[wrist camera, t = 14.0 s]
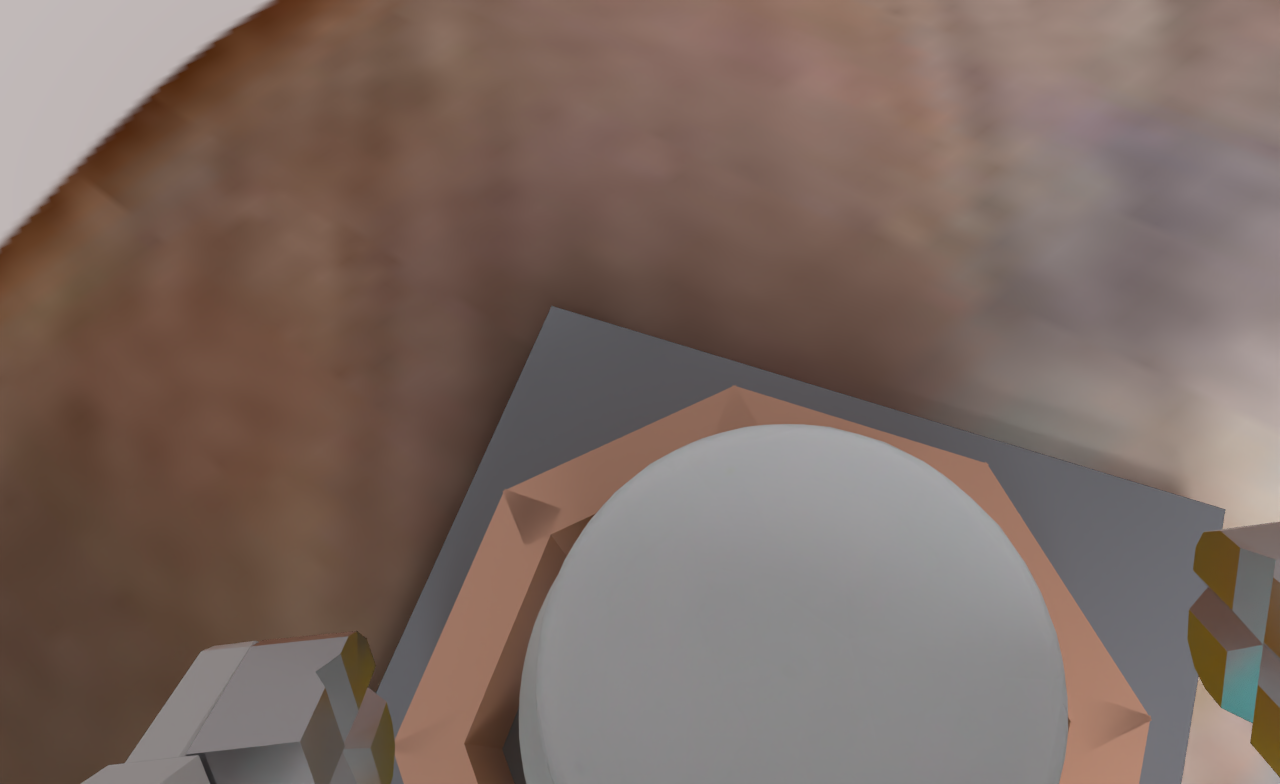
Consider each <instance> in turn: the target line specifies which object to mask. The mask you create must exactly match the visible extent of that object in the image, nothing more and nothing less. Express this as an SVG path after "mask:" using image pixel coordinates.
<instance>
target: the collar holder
mask: <svg viewBox="0 0 1280 784" xmlns="http://www.w3.org/2000/svg"><path fill="white" fill-rule="evenodd" d="M771 424H805V425H816V426H826V427H832V428H836V429H840V430H844V431H848V432H852V433H856V434H860V435H863V436H866V437H870V438H873V439H876V440H880V441H883V442H885V443H888V444H890V445H892V446H894V447H896V448H898V449H900V450H902V451H904V452H906V453H908V454H910V455H912V456H914V457H916V458H918V459H920V460H922V461H924V462H925V463H927V464H928V465H930V466H931V467H933V468H934V469H936V470H937V471H939V472H940V473H942V474H943V475H944V476H946V477H947V478H948V479H950V480H951V481H952V482H953V483H954V484H956V485H957V486H958V487H959V488H960V489H961V490H963V491H964V492H965V493H966V494H967V495H969V496H970V497H971V498H972V499H973V500H974V501H975V502H976V503H977V504H978V505H979V506H980V507H981V508H982V509H983V510H984V511H985V512H986V513H987V514H988V515H989V516H990V517H991V518H992V519H993V520H994V521H995V522H996V523H997V524H998V525H999V526H1000V527H1001V529H1002V530H1003V532H1004V533H1005V534H1006V536H1007V537H1008V539H1009V540H1010V542H1011V543H1012V545H1013V546H1014V547H1015V549H1016V550H1017V552H1018V553H1019V555H1020V556H1021V557H1022V559H1023V560H1024V562H1025V563H1026V565H1027V567H1028V569H1029V571H1030V572H1031V574H1032V576H1033V578H1034V580H1035V582H1036V584H1037V586H1038V587H1039V589H1040V591H1041V593H1042V596H1043V599H1044V601H1045V604H1046V607H1047V609H1048V612H1049V615H1050V617H1051V620H1052V623H1053V625H1054V628H1055V631H1056V633H1057V638H1058V642H1059V646H1060V650H1061V655H1062V660H1063V665H1064V671H1065V682H1066V689H1067V697H1068V738H1067V746H1066V755H1065V760H1064V765H1063V769H1062V773H1061V778H1060V782H1059V784H1181V781H1182V775H1183V769H1184V763H1185V757H1186V750H1187V744H1188V738H1189V732H1190V726H1191V719H1192V713H1193V707H1194V701H1195V694H1196V688H1197V682H1198V676H1199V675H1198V673H1197V672H1196V670H1195V668H1194V664H1193V660H1192V656H1191V652H1190V648H1189V644H1188V640H1187V636H1188V617H1189V609H1190V608H1191V606H1192V605H1193V604H1194V603H1195V602H1196V600H1197V599H1198V598H1199V597H1200V596H1201V595H1202V593H1203V592H1204V591H1205V590H1206V589H1207V587H1206V585H1205V584H1204V583H1203V582H1202V580H1201V579H1200V578H1199V577H1198V576H1197V574H1196V573H1195V572H1194V571H1193V565H1194V556H1195V548H1196V545H1197V543H1198V541H1199V539H1200V537H1201V535H1202V533H1203V532H1207V531H1214V530H1221V529H1222V527H1223V520H1224V514H1225V509H1222V508H1219V507H1215V506H1212V505H1209V504H1206V503H1202V502H1199V501H1196V500H1192V499H1189V498H1186V497H1182V496H1179V495H1176V494H1172V493H1169V492H1166V491H1163V490H1159V489H1156V488H1153V487H1149V486H1146V485H1143V484H1139V483H1136V482H1133V481H1129V480H1126V479H1123V478H1120V477H1116V476H1113V475H1110V474H1106V473H1103V472H1100V471H1096V470H1093V469H1090V468H1086V467H1083V466H1080V465H1077V464H1073V463H1070V462H1067V461H1063V460H1060V459H1057V458H1053V457H1050V456H1047V455H1043V454H1040V453H1037V452H1034V451H1030V450H1027V449H1024V448H1020V447H1017V446H1014V445H1010V444H1007V443H1004V442H1000V441H997V440H994V439H991V438H987V437H984V436H981V435H977V434H974V433H971V432H967V431H964V430H961V429H957V428H954V427H951V426H948V425H944V424H941V423H938V422H934V421H931V420H928V419H924V418H921V417H918V416H914V415H911V414H908V413H905V412H901V411H898V410H895V409H891V408H888V407H885V406H881V405H878V404H875V403H871V402H868V401H865V400H862V399H858V398H855V397H852V396H848V395H845V394H842V393H838V392H835V391H832V390H828V389H825V388H822V387H819V386H815V385H812V384H809V383H805V382H802V381H799V380H795V379H792V378H789V377H785V376H782V375H779V374H775V373H772V372H769V371H766V370H762V369H759V368H756V367H752V366H749V365H746V364H742V363H739V362H736V361H732V360H729V359H726V358H723V357H719V356H716V355H713V354H709V353H706V352H703V351H699V350H696V349H693V348H689V347H686V346H683V345H680V344H676V343H673V342H670V341H666V340H663V339H660V338H656V337H653V336H650V335H646V334H643V333H640V332H637V331H633V330H630V329H627V328H623V327H620V326H617V325H613V324H610V323H607V322H603V321H600V320H597V319H594V318H590V317H587V316H584V315H580V314H577V313H574V312H570V311H567V310H564V309H560V308H557V307H554V306H551V309H550V311H549V313H548V315H547V317H546V320H545V322H544V324H543V326H542V329H541V331H540V333H539V335H538V337H537V340H536V342H535V344H534V346H533V348H532V351H531V353H530V355H529V357H528V359H527V362H526V364H525V366H524V368H523V370H522V373H521V375H520V377H519V379H518V381H517V384H516V386H515V388H514V390H513V392H512V395H511V397H510V399H509V401H508V403H507V406H506V408H505V410H504V412H503V414H502V417H501V419H500V421H499V423H498V425H497V428H496V430H495V432H494V434H493V437H492V439H491V441H490V443H489V445H488V448H487V450H486V452H485V454H484V456H483V459H482V461H481V463H480V465H479V467H478V470H477V472H476V474H475V476H474V478H473V481H472V483H471V485H470V487H469V489H468V492H467V494H466V496H465V498H464V500H463V503H462V505H461V507H460V509H459V511H458V514H457V516H456V518H455V520H454V522H453V525H452V527H451V529H450V531H449V533H448V536H447V538H446V540H445V542H444V545H443V547H442V549H441V551H440V553H439V556H438V558H437V560H436V562H435V564H434V567H433V569H432V571H431V573H430V575H429V578H428V580H427V582H426V584H425V586H424V589H423V591H422V593H421V595H420V597H419V600H418V602H417V604H416V606H415V608H414V611H413V613H412V615H411V617H410V619H409V622H408V624H407V626H406V628H405V630H404V633H403V635H402V637H401V639H400V641H399V644H398V646H397V648H396V650H395V653H394V655H393V657H392V659H391V661H390V664H389V666H388V668H387V670H386V672H385V675H384V677H383V679H382V681H381V683H380V686H379V688H378V690H377V692H376V694H377V695H379V696H380V697H381V698H382V699H384V700H385V701H386V702H387V705H388V709H389V712H390V716H391V719H392V724H393V732H394V740H395V756H394V770H393V778H392V781H391V784H526V780H525V776H524V771H523V764H522V757H521V750H520V741H519V697H520V687H521V678H522V672H523V666H524V661H525V656H526V652H527V648H528V643H529V640H530V637H531V633H532V630H533V627H534V624H535V621H536V619H537V616H538V614H539V611H540V609H541V607H542V605H543V602H544V600H545V598H546V596H547V594H548V592H549V590H550V588H551V586H552V584H553V583H554V581H555V579H556V577H557V575H558V574H559V571H560V569H561V567H562V565H563V562H564V560H565V559H566V557H567V555H568V553H569V552H570V550H571V548H572V547H573V545H574V543H575V542H576V540H577V539H578V537H579V535H580V534H581V532H582V531H583V529H584V528H585V527H586V525H587V524H588V522H589V521H590V520H591V518H592V517H593V516H594V515H595V514H596V513H597V512H598V511H599V509H600V508H601V507H602V506H603V505H604V504H605V503H606V502H607V500H608V499H609V498H610V497H611V496H612V495H613V494H614V493H615V492H616V491H617V490H618V489H620V488H621V487H622V486H623V485H624V484H626V483H627V482H628V481H629V480H631V479H632V478H633V477H634V476H636V475H637V474H638V473H639V472H641V471H642V470H643V469H644V468H646V467H647V466H648V465H649V464H651V463H653V462H655V461H656V460H658V459H660V458H662V457H664V456H665V455H667V454H669V453H671V452H673V451H675V450H677V449H679V448H681V447H683V446H685V445H687V444H690V443H692V442H694V441H697V440H699V439H702V438H705V437H708V436H712V435H715V434H718V433H722V432H726V431H730V430H734V429H738V428H743V427H749V426H758V425H771Z"/></svg>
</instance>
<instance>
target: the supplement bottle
mask: <svg viewBox="0 0 1280 784" xmlns="http://www.w3.org/2000/svg"><path fill="white" fill-rule="evenodd" d="M1067 738H1068V697H1067V689H1066V682H1065V671H1064V665H1063V660H1062V655H1061V650H1060V646H1059V642H1058V638H1057V633H1056V631H1055V628H1054V625H1053V623H1052V620H1051V617H1050V615H1049V612H1048V609H1047V607H1046V604H1045V601H1044V599H1043V596H1042V593H1041V591H1040V589H1039V587H1038V586H1037V584H1036V582H1035V580H1034V578H1033V576H1032V574H1031V572H1030V571H1029V569H1028V567H1027V565H1026V563H1025V562H1024V560H1023V559H1022V557H1021V556H1020V555H1019V553H1018V552H1017V550H1016V549H1015V547H1014V546H1013V545H1012V543H1011V542H1010V540H1009V539H1008V537H1007V536H1006V534H1005V533H1004V532H1003V530H1002V529H1001V527H1000V526H999V525H998V524H997V523H996V522H995V521H994V520H993V519H992V518H991V517H990V516H989V515H988V514H987V513H986V512H985V511H984V510H983V509H982V508H981V507H980V506H979V505H978V504H977V503H976V502H975V501H974V500H973V499H972V498H971V497H970V496H969V495H967V494H966V493H965V492H964V491H963V490H961V489H960V488H959V487H958V486H957V485H956V484H954V483H953V482H952V481H951V480H950V479H948V478H947V477H946V476H944V475H943V474H942V473H940V472H939V471H937V470H936V469H934V468H933V467H931V466H930V465H928V464H927V463H925V462H924V461H922V460H920V459H918V458H916V457H914V456H912V455H910V454H908V453H906V452H904V451H902V450H900V449H898V448H896V447H894V446H892V445H890V444H888V443H885V442H883V441H880V440H876V439H873V438H870V437H866V436H863V435H860V434H856V433H852V432H848V431H844V430H840V429H836V428H832V427H826V426H816V425H805V424H771V425H758V426H749V427H743V428H738V429H734V430H730V431H726V432H722V433H718V434H715V435H712V436H708V437H705V438H702V439H699V440H697V441H694V442H692V443H690V444H687V445H685V446H683V447H681V448H679V449H677V450H675V451H673V452H671V453H669V454H667V455H665V456H664V457H662V458H660V459H658V460H656V461H655V462H653V463H651V464H649V465H648V466H647V467H646V468H644V469H643V470H642V471H641V472H639V473H638V474H637V475H636V476H634V477H633V478H632V479H631V480H629V481H628V482H627V483H626V484H624V485H623V486H622V487H621V488H620V489H618V490H617V491H616V492H615V493H614V494H613V495H612V496H611V497H610V498H609V499H608V500H607V502H606V503H605V504H604V505H603V506H602V507H601V508H600V509H599V511H598V512H597V513H596V514H595V515H594V516H593V517H592V518H591V520H590V521H589V522H588V524H587V525H586V527H585V528H584V529H583V531H582V532H581V534H580V535H579V537H578V539H577V540H576V542H575V543H574V545H573V547H572V548H571V550H570V552H569V553H568V555H567V557H566V559H565V560H564V562H563V565H562V567H561V569H560V571H559V574H558V575H557V577H556V579H555V581H554V583H553V584H552V586H551V588H550V590H549V592H548V594H547V596H546V598H545V600H544V602H543V605H542V607H541V609H540V611H539V614H538V616H537V619H536V621H535V624H534V627H533V630H532V633H531V637H530V640H529V643H528V648H527V652H526V656H525V661H524V666H523V672H522V678H521V687H520V697H519V741H520V750H521V757H522V764H523V771H524V776H525V780H526V784H1059V782H1060V778H1061V773H1062V769H1063V765H1064V760H1065V755H1066V746H1067Z"/></svg>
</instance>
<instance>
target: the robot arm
mask: <svg viewBox="0 0 1280 784" xmlns="http://www.w3.org/2000/svg"><path fill="white" fill-rule="evenodd" d="M1193 571H1194V572H1195V573H1196V574H1197V576H1198V577H1199V578H1200V579H1201V580H1202V582H1203V583H1204V584H1205V585H1206V587H1207V589H1206V590H1205V591H1204V592H1203V593H1202V595H1201V596H1200V597H1199V598H1198V599H1197V600H1196V602H1195V603H1194V604H1193V605H1192V606H1191V608H1190V609H1189V617H1188V636H1187V640H1188V644H1189V648H1190V652H1191V656H1192V660H1193V664H1194V668H1195V670H1196V672H1197V673H1198V675H1199V677H1200V679H1201V681H1202V683H1203V685H1204V687H1205V689H1206V690H1207V691H1208V692H1209V694H1210V695H1211V696H1212V697H1213V698H1214V700H1215V701H1216V702H1217V703H1218V705H1219V706H1220V707H1221V708H1223V709H1225V710H1227V711H1229V712H1231V713H1233V714H1235V715H1237V716H1239V717H1241V718H1243V719H1245V720H1247V721H1249V722H1251V723H1253V726H1252V734H1251V742H1250V743H1251V744H1252V745H1253V746H1254V748H1255V749H1256V750H1257V751H1258V752H1259V753H1260V755H1261V756H1262V757H1263V758H1264V759H1265V761H1266V762H1267V763H1268V764H1269V765H1270V766H1271V768H1272V769H1273V770H1274V771H1275V772H1276V773H1277V775H1278V776H1279V777H1280V522H1273V523H1266V524H1259V525H1251V526H1244V527H1236V528H1229V529H1221V530H1214V531H1207V532H1203V533H1202V535H1201V537H1200V539H1199V541H1198V543H1197V545H1196V548H1195V556H1194V565H1193ZM375 667H376V665H375V662H374V659H373V656H372V653H371V650H370V647H369V644H368V641H367V638H365V637H364V636H363V635H362V634H360V633H359V632H358V631H352V632H342V633H332V634H322V635H311V636H301V637H291V638H281V639H270V640H262V641H260V642H257V641H249V642H242V643H234V644H226V645H218V646H213V647H210V648H208V649H206V650H203V651H201V652H200V654H199V655H198V656H197V658H196V659H195V661H194V662H193V664H192V665H191V667H190V668H189V670H188V671H187V672H186V674H185V675H184V677H183V678H182V680H181V681H180V683H179V684H178V686H177V687H176V689H175V690H174V692H173V693H172V694H171V696H170V697H169V699H168V700H167V702H166V703H165V705H164V706H163V708H162V709H161V711H160V712H159V714H158V715H157V716H156V718H155V719H154V721H153V722H152V724H151V725H150V727H149V728H148V730H147V731H146V733H145V734H144V736H143V737H142V738H141V740H140V741H139V743H138V744H137V746H136V747H135V749H134V750H133V752H132V753H131V755H130V756H129V758H128V759H127V760H126V762H125V763H122V764H114V765H108V766H106V767H105V768H103V769H102V770H100V771H99V772H97V773H96V774H94V775H93V776H91V777H90V778H88V779H87V780H85V781H84V782H82V783H81V784H391V781H392V778H393V770H394V756H395V740H394V732H393V724H392V719H391V716H390V712H389V709H388V705H387V702H386V701H385V700H384V699H382V698H381V697H380V696H379V695H377V694H376V693H375V692H374V691H372V690H371V689H370V688H369V687H368V685H369V682H370V680H371V677H372V674H373V672H374V669H375Z"/></svg>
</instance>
